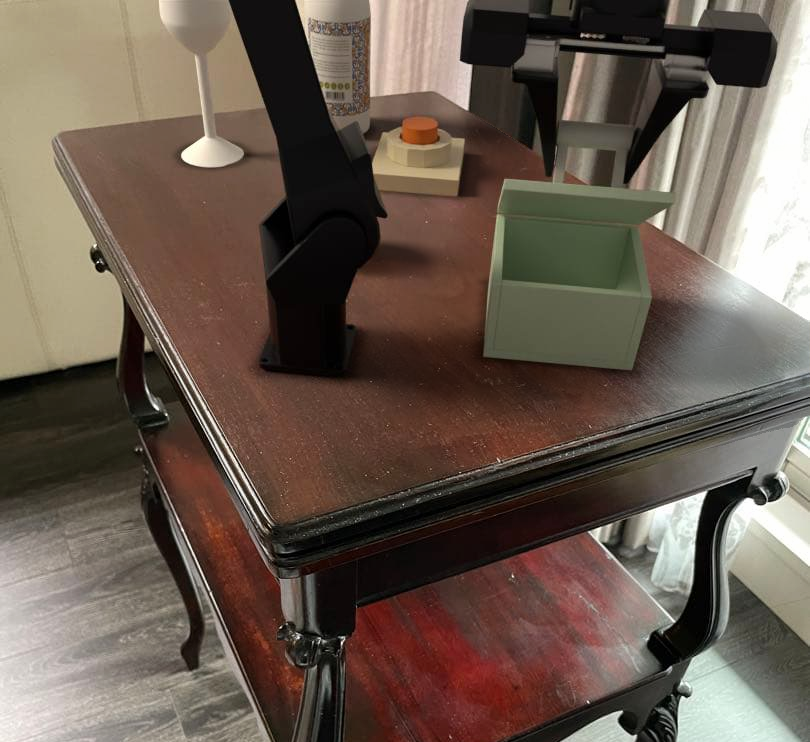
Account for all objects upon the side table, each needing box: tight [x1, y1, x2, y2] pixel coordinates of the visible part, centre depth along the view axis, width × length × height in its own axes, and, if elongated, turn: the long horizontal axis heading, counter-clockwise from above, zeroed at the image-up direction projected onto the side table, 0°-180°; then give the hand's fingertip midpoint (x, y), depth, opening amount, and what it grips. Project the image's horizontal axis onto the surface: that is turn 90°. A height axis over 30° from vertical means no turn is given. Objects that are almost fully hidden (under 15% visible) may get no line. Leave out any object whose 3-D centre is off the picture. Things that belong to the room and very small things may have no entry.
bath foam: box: [303, 0, 372, 135], centre depth 89 cm, size 7×7×20 cm
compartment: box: [482, 213, 653, 371], centre depth 66 cm, size 11×11×6 cm
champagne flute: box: [158, 0, 245, 168], centre depth 81 cm, size 7×7×24 cm
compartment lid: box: [496, 119, 677, 226], centre depth 61 cm, size 12×11×5 cm
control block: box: [372, 126, 466, 197], centre depth 87 cm, size 11×9×4 cm
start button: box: [401, 116, 439, 145], centre depth 86 cm, size 4×4×2 cm
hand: (586, 178), depth 58 cm, fingers closed on compartment lid, 5 cm apart
